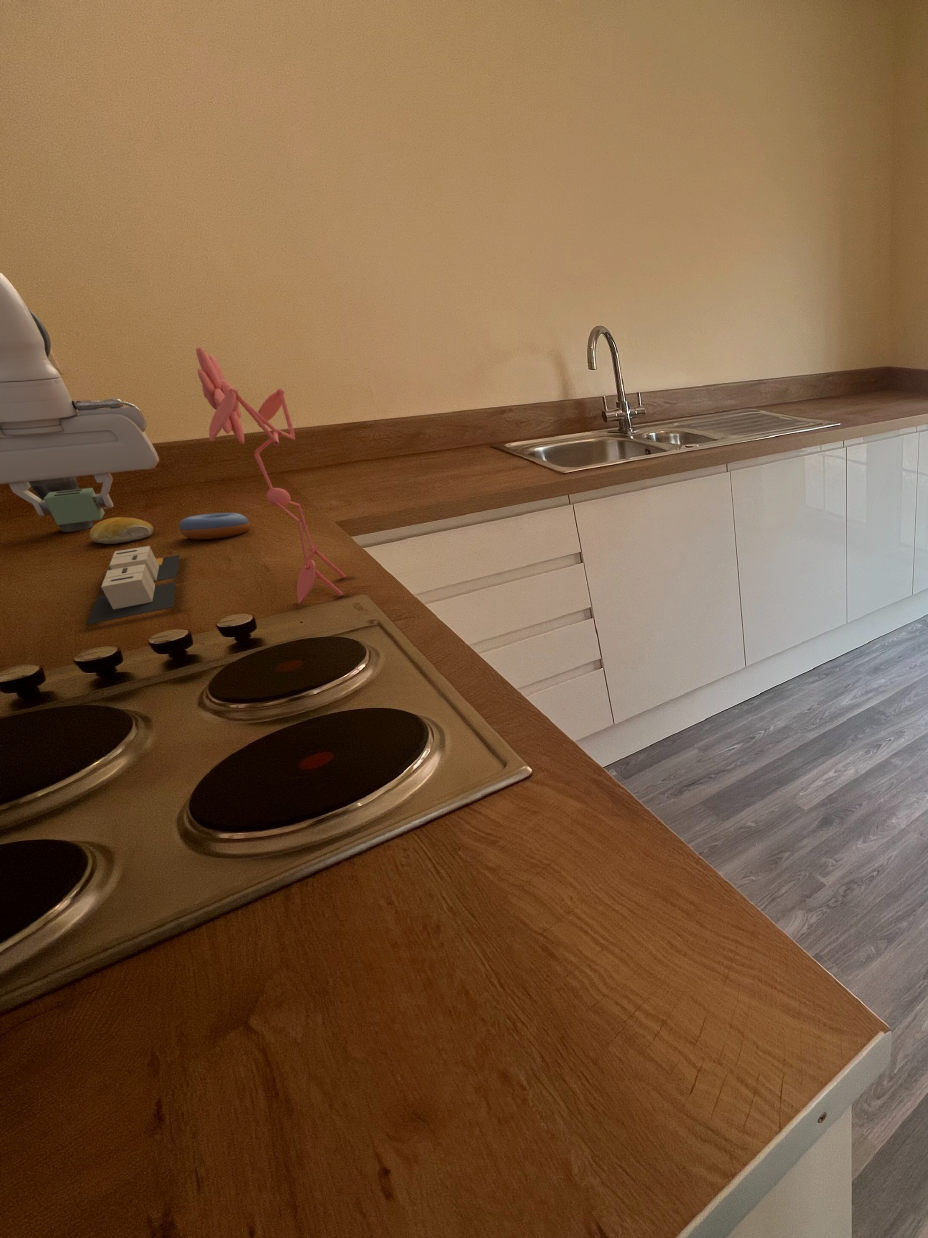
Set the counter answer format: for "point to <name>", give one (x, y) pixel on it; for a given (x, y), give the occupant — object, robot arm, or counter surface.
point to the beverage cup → (54, 486)
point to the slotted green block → (73, 506)
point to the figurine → (258, 450)
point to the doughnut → (214, 526)
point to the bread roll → (120, 530)
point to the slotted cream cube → (135, 563)
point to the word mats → (160, 601)
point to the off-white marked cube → (138, 551)
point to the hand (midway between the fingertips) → (77, 510)
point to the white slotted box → (127, 590)
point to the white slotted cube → (131, 571)
